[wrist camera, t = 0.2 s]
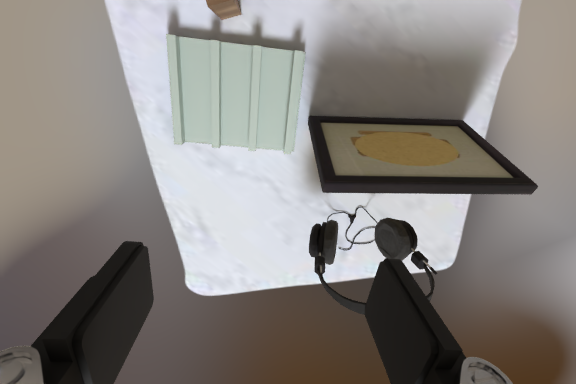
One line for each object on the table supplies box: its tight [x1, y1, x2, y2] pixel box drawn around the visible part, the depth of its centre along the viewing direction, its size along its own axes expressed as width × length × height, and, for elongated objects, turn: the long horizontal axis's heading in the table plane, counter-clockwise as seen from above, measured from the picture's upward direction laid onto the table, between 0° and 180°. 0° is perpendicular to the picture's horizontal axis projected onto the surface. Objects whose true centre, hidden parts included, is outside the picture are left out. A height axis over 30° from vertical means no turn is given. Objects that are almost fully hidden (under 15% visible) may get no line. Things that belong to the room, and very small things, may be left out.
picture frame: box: [308, 116, 538, 194], centre depth 35 cm, size 23×9×15 cm, turn 88°
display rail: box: [166, 34, 306, 154], centre depth 35 cm, size 13×17×3 cm
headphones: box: [309, 207, 437, 315], centre depth 37 cm, size 15×11×20 cm
